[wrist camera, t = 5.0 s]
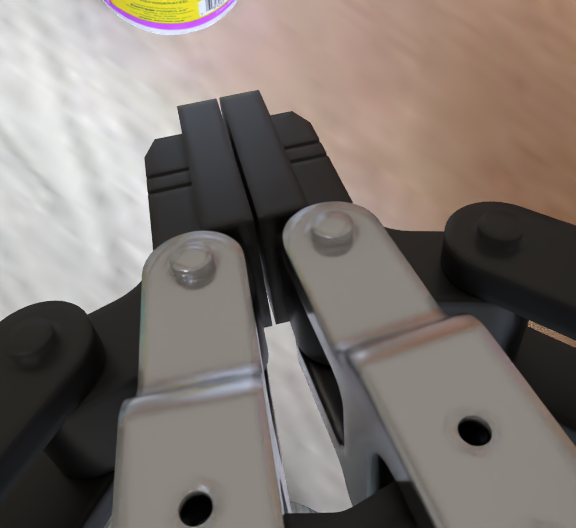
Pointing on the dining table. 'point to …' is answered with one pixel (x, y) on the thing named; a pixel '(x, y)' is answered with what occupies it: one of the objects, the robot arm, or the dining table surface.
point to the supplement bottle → (171, 14)
